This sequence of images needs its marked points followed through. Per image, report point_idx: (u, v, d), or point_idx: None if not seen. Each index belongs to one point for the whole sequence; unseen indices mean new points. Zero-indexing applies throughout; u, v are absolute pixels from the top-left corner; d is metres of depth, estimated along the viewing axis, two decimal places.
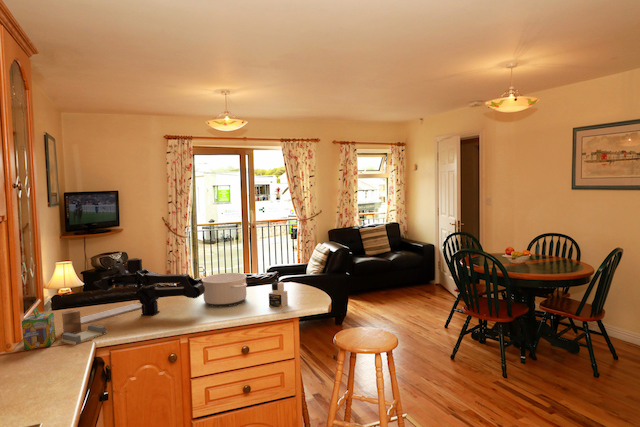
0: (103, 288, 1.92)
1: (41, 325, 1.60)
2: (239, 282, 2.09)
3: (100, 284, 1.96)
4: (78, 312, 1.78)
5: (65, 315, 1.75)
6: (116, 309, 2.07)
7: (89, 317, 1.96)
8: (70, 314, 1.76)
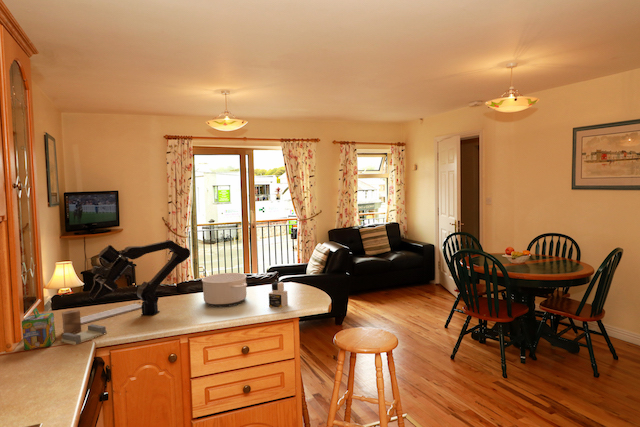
0: (113, 288, 1.80)
1: (41, 325, 1.60)
2: (239, 282, 2.09)
3: (103, 292, 1.81)
4: (78, 312, 1.78)
5: (65, 315, 1.75)
6: (116, 309, 2.07)
7: (89, 317, 1.96)
8: (70, 314, 1.76)
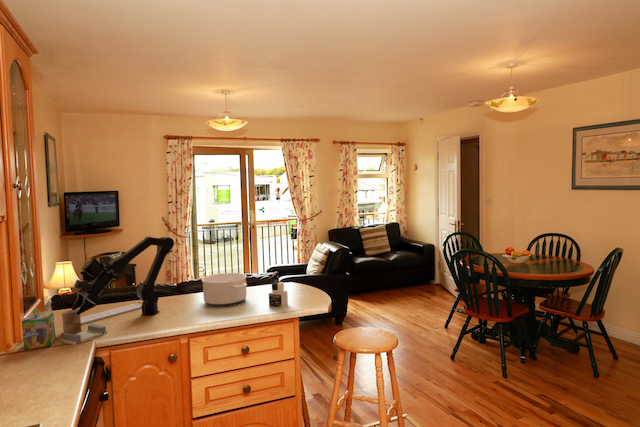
0: (96, 302, 1.76)
1: (41, 325, 1.60)
2: (239, 282, 2.09)
3: (86, 307, 1.76)
4: None
5: (65, 315, 1.75)
6: (116, 309, 2.07)
7: (89, 317, 1.96)
8: (70, 314, 1.76)
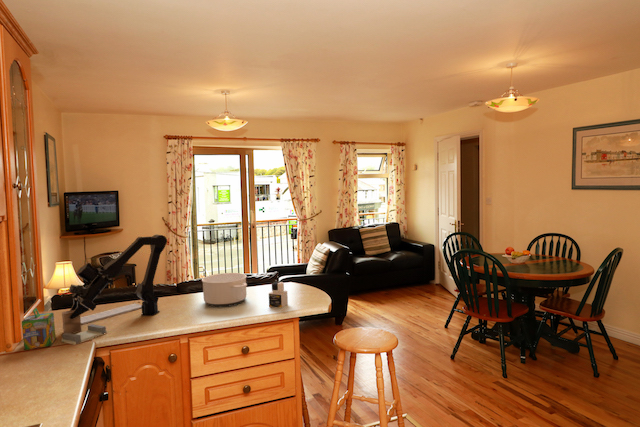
0: (91, 307, 1.75)
1: (41, 325, 1.60)
2: (239, 282, 2.09)
3: (79, 311, 1.77)
4: None
5: (65, 315, 1.75)
6: (116, 309, 2.07)
7: (89, 317, 1.95)
8: (70, 314, 1.76)
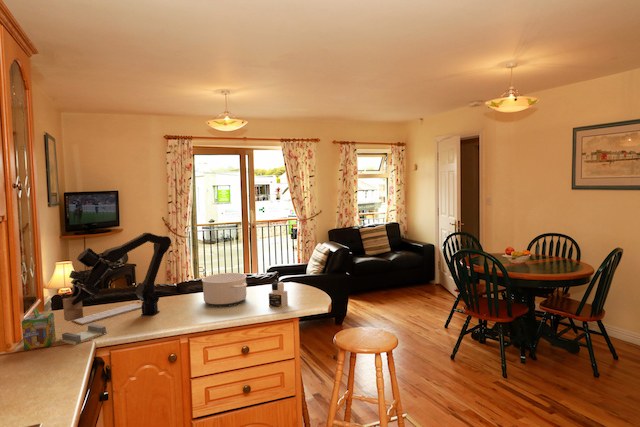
0: (95, 292, 1.73)
1: (41, 325, 1.60)
2: (239, 282, 2.09)
3: (81, 296, 1.74)
4: None
5: (67, 301, 1.72)
6: (115, 309, 2.07)
7: (89, 317, 1.95)
8: (72, 300, 1.73)
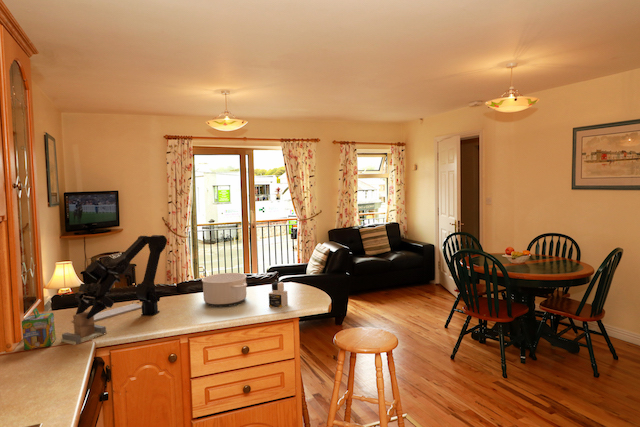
0: (110, 304, 1.71)
1: (41, 325, 1.60)
2: (239, 282, 2.09)
3: (96, 310, 1.70)
4: None
5: (80, 317, 1.67)
6: (115, 309, 2.07)
7: None
8: (85, 316, 1.69)
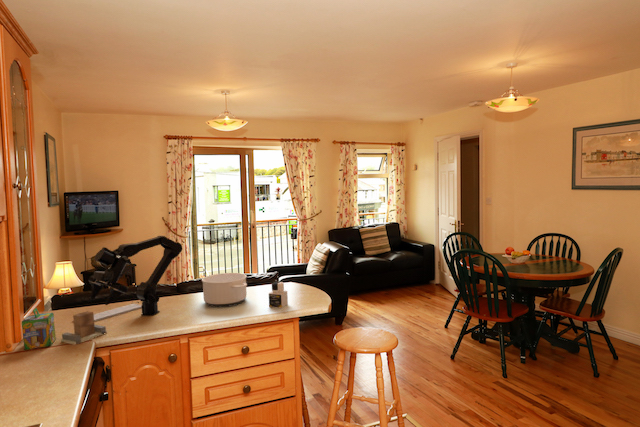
0: (125, 291, 1.82)
1: (41, 325, 1.60)
2: (239, 282, 2.09)
3: (113, 296, 1.81)
4: (92, 313, 1.72)
5: (80, 317, 1.67)
6: (115, 309, 2.07)
7: None
8: (85, 316, 1.69)
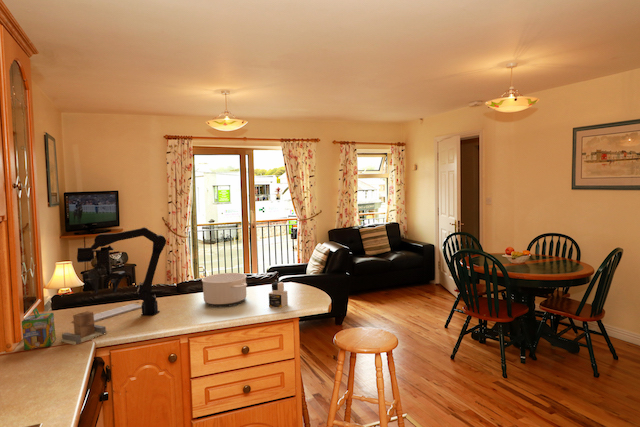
0: (124, 275, 1.92)
1: (41, 325, 1.60)
2: (239, 282, 2.09)
3: (116, 284, 1.92)
4: (92, 313, 1.72)
5: (80, 317, 1.67)
6: (115, 309, 2.07)
7: None
8: (85, 316, 1.69)
